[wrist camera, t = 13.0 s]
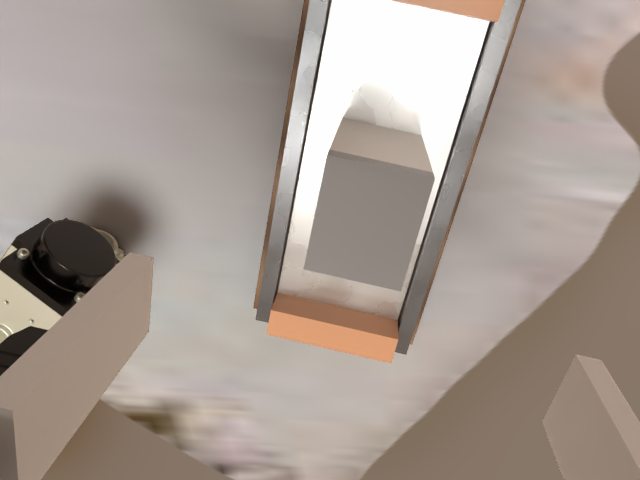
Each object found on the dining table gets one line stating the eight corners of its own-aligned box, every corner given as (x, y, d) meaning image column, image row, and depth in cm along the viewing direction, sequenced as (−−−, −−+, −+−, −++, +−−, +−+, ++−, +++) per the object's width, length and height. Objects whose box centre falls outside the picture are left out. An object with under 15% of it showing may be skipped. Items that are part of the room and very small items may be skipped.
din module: (341, 117, 32) (326, 154, 23) (422, 135, 32) (434, 178, 23) (322, 207, 34) (303, 269, 26) (397, 224, 34) (401, 291, 26)
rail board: (316, -55, 30) (306, -65, 26) (523, -11, 29) (543, -14, 26) (257, 299, 39) (244, 328, 36) (411, 335, 39) (413, 368, 36)
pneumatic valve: (165, 224, 38) (75, 310, 27) (83, 318, 42) (-22, 424, 31) (103, 172, 37) (-16, 240, 26) (26, 274, 41) (-104, 369, 30)
